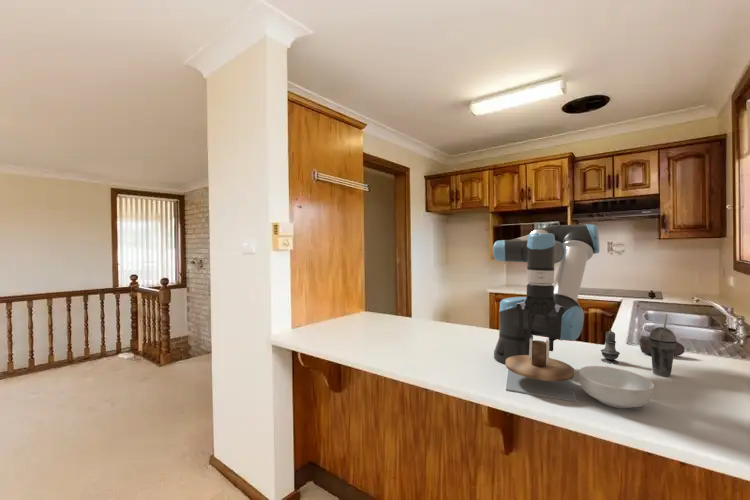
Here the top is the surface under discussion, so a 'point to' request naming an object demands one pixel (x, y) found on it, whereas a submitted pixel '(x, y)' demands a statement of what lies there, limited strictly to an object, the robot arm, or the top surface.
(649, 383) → the cereal bowl
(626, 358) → the top surface
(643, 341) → the perforated stone tool
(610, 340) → the salt shaker
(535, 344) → the lid
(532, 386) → the mat
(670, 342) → the beverage cup
